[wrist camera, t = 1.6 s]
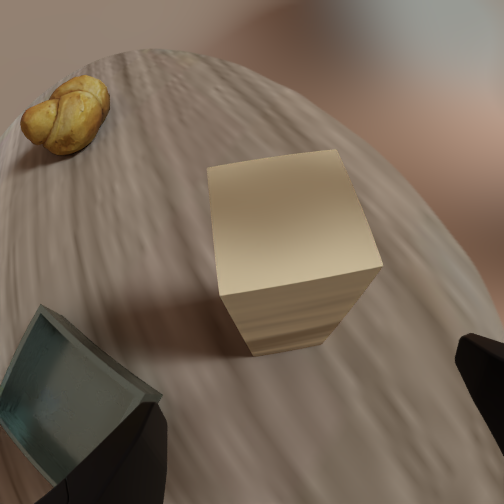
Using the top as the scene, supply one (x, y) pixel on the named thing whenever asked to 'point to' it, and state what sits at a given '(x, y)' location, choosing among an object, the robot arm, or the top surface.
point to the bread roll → (68, 116)
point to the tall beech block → (289, 248)
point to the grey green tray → (64, 395)
